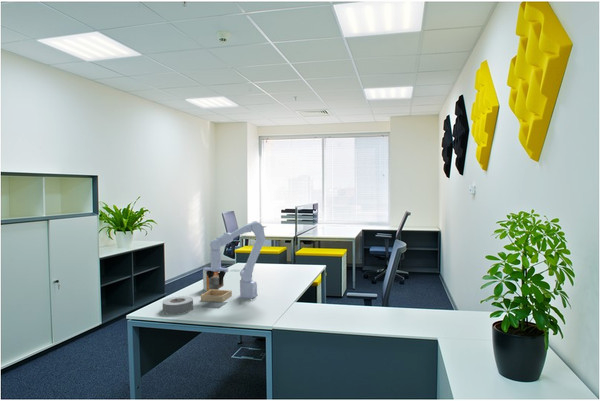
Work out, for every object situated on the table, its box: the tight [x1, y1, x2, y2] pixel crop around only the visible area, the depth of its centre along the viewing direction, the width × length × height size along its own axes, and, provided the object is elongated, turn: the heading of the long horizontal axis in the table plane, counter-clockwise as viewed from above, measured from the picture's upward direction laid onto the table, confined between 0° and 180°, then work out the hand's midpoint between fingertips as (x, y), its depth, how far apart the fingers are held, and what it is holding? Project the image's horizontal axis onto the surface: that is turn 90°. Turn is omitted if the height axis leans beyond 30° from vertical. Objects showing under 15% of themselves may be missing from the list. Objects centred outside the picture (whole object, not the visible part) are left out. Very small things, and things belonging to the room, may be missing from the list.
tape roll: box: [162, 295, 194, 315], centre depth 199 cm, size 15×15×5 cm
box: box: [209, 275, 224, 290], centre depth 217 cm, size 5×8×6 cm, turn 165°
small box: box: [202, 268, 219, 292], centre depth 238 cm, size 8×6×13 cm
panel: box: [201, 301, 228, 309], centre depth 204 cm, size 10×10×1 cm
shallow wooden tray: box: [200, 289, 233, 302], centre depth 217 cm, size 13×12×4 cm
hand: (216, 284), depth 217 cm, fingers closed on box, 5 cm apart
